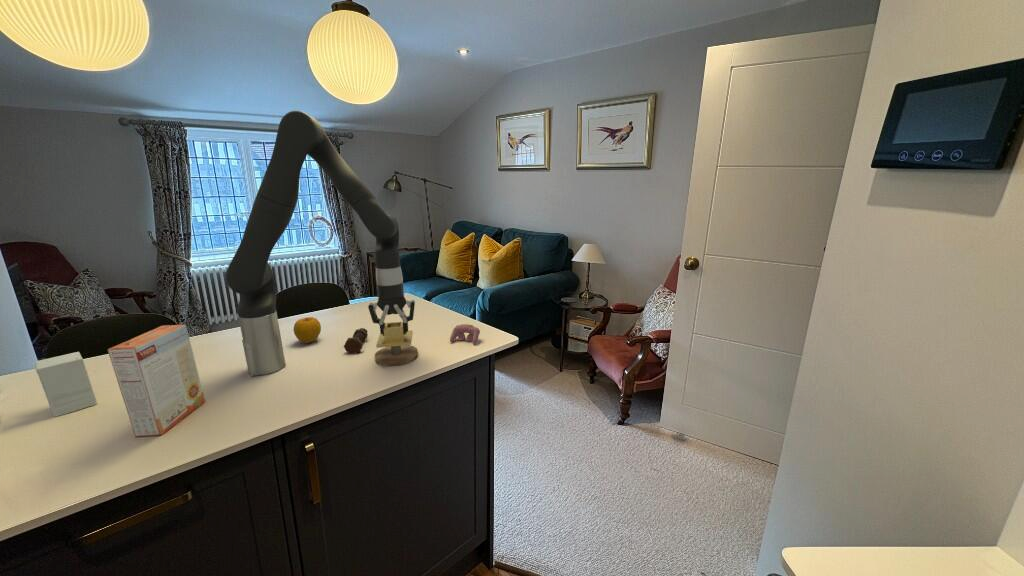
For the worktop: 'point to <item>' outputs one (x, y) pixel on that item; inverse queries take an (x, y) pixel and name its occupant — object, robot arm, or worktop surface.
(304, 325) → the apple
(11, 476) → the worktop surface
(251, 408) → the worktop surface
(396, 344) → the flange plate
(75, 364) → the supplement box
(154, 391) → the cracker box
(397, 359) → the post base
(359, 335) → the dark brown dumbbell
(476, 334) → the purple arched piece
